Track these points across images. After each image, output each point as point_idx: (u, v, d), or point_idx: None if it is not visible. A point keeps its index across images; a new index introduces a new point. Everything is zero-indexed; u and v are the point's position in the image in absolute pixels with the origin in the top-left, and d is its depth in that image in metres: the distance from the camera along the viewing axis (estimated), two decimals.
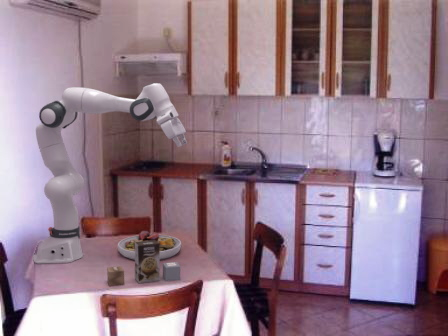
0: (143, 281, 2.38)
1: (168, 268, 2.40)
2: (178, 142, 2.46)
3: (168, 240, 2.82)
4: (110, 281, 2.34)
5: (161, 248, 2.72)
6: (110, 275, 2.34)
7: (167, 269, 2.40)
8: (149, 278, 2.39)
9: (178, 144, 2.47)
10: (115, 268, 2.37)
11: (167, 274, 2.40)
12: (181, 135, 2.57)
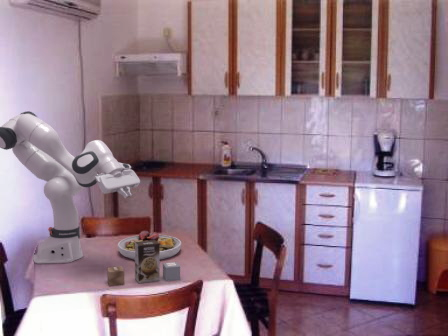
0: (143, 281, 2.38)
1: (168, 268, 2.40)
2: None
3: (168, 240, 2.82)
4: (110, 281, 2.34)
5: (161, 248, 2.72)
6: (110, 275, 2.34)
7: (167, 269, 2.40)
8: (149, 278, 2.39)
9: None
10: (115, 268, 2.37)
11: (167, 274, 2.40)
12: None
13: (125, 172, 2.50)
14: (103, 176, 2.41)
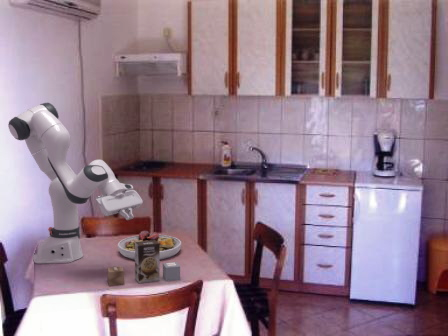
0: (143, 281, 2.38)
1: (168, 268, 2.40)
2: None
3: (168, 240, 2.82)
4: (110, 281, 2.34)
5: (161, 248, 2.72)
6: (110, 275, 2.34)
7: (167, 269, 2.40)
8: (149, 278, 2.39)
9: None
10: (115, 268, 2.37)
11: (167, 274, 2.40)
12: None
13: (127, 192, 2.47)
14: (104, 198, 2.38)
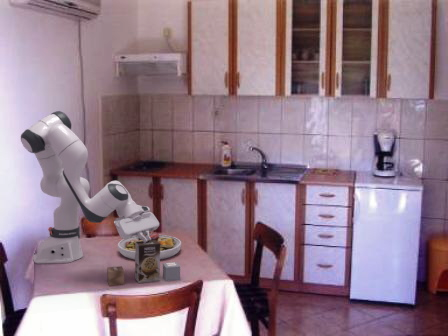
0: (143, 281, 2.38)
1: (168, 268, 2.40)
2: None
3: (168, 240, 2.82)
4: (110, 281, 2.34)
5: (161, 248, 2.72)
6: (110, 275, 2.34)
7: (167, 269, 2.40)
8: (149, 278, 2.39)
9: None
10: (115, 268, 2.37)
11: (167, 274, 2.40)
12: None
13: (144, 214, 2.44)
14: (122, 221, 2.35)
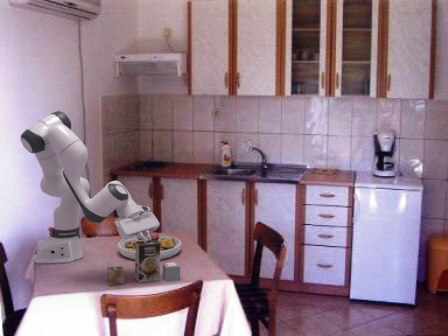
0: (143, 281, 2.38)
1: (168, 268, 2.40)
2: None
3: (168, 240, 2.82)
4: (110, 281, 2.34)
5: (161, 248, 2.72)
6: (110, 275, 2.34)
7: (167, 269, 2.40)
8: (149, 278, 2.39)
9: None
10: (115, 268, 2.37)
11: (167, 274, 2.40)
12: None
13: (144, 214, 2.44)
14: (122, 221, 2.35)
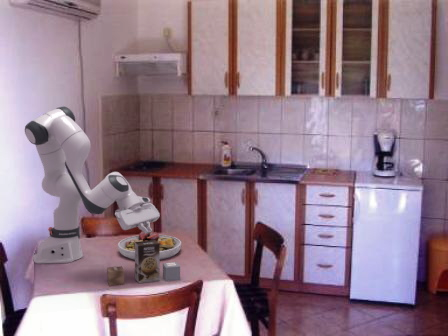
0: (143, 281, 2.38)
1: (168, 268, 2.40)
2: None
3: (168, 240, 2.82)
4: (110, 281, 2.34)
5: (161, 248, 2.72)
6: (110, 275, 2.34)
7: (167, 269, 2.40)
8: (149, 278, 2.39)
9: None
10: (115, 268, 2.37)
11: (167, 274, 2.40)
12: None
13: (145, 206, 2.44)
14: (123, 212, 2.35)
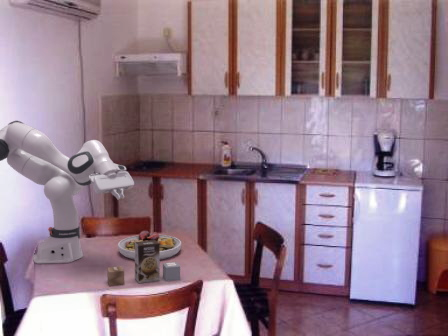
0: (143, 281, 2.38)
1: (168, 268, 2.40)
2: None
3: (168, 240, 2.82)
4: (110, 281, 2.34)
5: (161, 248, 2.72)
6: (110, 275, 2.34)
7: (167, 269, 2.40)
8: (149, 278, 2.39)
9: None
10: (115, 268, 2.37)
11: (167, 274, 2.40)
12: None
13: (120, 173, 2.52)
14: (97, 176, 2.43)
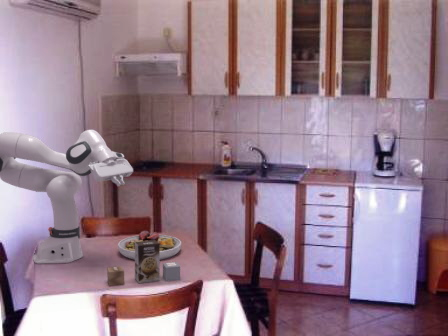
0: (143, 281, 2.38)
1: (168, 268, 2.40)
2: None
3: (168, 240, 2.82)
4: (110, 281, 2.34)
5: (161, 248, 2.72)
6: (110, 275, 2.34)
7: (167, 269, 2.40)
8: (149, 278, 2.39)
9: None
10: (115, 268, 2.37)
11: (167, 274, 2.40)
12: None
13: (118, 160, 2.54)
14: (96, 164, 2.45)
